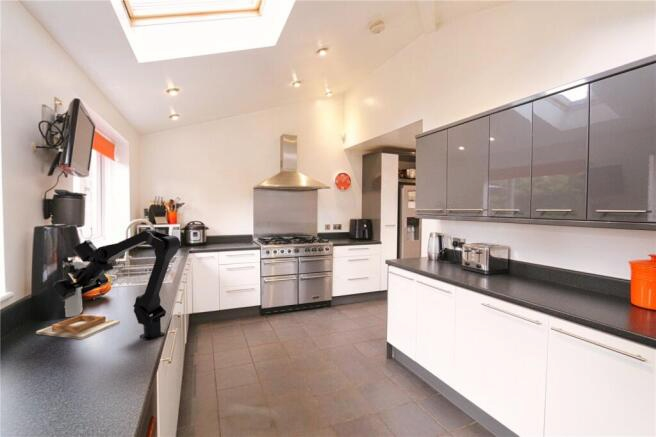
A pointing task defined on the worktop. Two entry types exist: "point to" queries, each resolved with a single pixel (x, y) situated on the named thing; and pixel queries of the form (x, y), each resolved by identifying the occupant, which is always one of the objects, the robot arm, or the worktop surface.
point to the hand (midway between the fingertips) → (70, 297)
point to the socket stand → (79, 327)
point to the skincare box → (74, 304)
